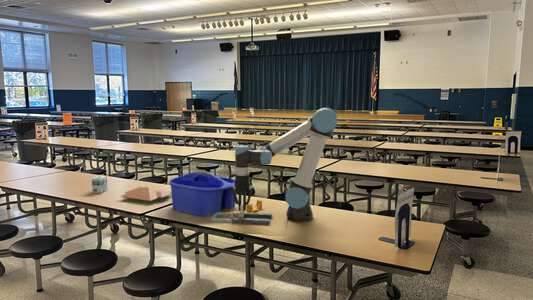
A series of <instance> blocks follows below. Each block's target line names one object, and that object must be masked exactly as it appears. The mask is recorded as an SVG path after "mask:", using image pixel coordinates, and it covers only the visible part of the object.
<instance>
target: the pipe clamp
mask: <svg viewBox="0 0 533 300" xmlns="http://www.w3.org/2000/svg"><path fill="white" fill-rule="evenodd" d="M260 210H263V200H262V199H257V200H256V203H255V205H254V207H253V204H252V203H249V204H248V205H246V212H251V213H258V212H259V211H260Z"/></svg>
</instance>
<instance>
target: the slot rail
mask: <svg viewBox="0 0 533 300" xmlns="http://www.w3.org/2000/svg"><path fill="white" fill-rule="evenodd" d="M272 219H273V213H271V212H254V213H251V212H247V211H244V217H242V218H233V219H232V222H231V223H232V224H247V225H264V226H265V225H270V224H271V221H272Z"/></svg>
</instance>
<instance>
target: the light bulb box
mask: <svg viewBox="0 0 533 300" xmlns="http://www.w3.org/2000/svg"><path fill="white" fill-rule="evenodd" d="M91 184H92V185H91V189H92V190H91V191H92V194H103V193H104V192H107V191H108V176H107V175H97V176H95V177H93V178H91Z"/></svg>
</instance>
